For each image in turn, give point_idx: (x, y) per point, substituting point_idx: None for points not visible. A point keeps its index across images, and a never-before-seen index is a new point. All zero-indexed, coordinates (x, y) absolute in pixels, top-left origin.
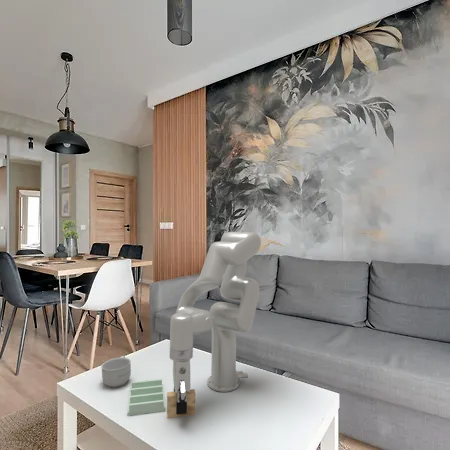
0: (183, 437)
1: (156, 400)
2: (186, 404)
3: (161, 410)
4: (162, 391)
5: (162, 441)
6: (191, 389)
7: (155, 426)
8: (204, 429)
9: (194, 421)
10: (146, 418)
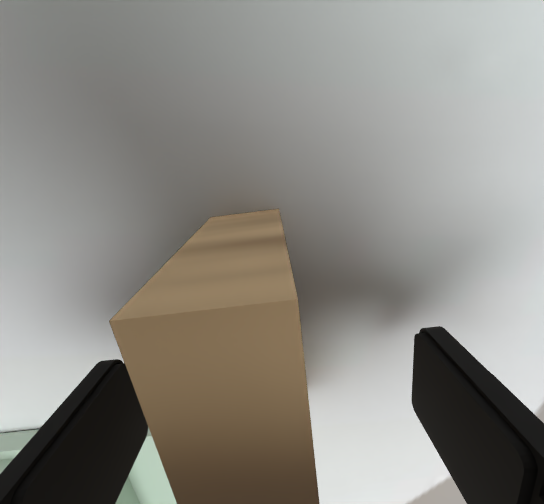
0: (528, 293)
1: (129, 481)
2: (513, 403)
3: None
4: (1, 459)
5: None
6: (133, 376)
7: (369, 441)
8: (502, 133)
9: (374, 217)
10: None
